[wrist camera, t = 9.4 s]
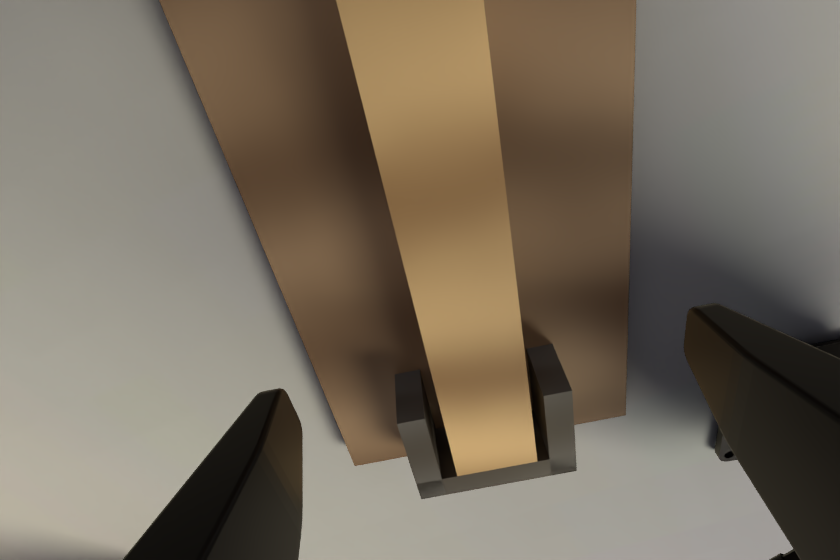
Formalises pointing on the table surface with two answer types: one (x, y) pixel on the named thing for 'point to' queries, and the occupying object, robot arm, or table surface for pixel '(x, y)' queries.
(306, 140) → the endcap frame
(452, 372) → the slat
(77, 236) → the table surface
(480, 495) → the table surface
